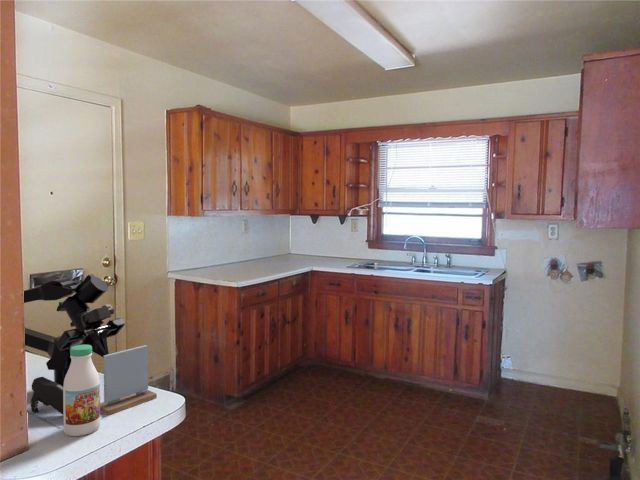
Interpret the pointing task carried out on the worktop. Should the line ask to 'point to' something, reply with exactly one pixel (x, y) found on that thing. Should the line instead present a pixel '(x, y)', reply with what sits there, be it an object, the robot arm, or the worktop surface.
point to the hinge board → (127, 402)
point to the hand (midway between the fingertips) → (107, 357)
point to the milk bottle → (81, 393)
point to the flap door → (125, 374)
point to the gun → (47, 394)
